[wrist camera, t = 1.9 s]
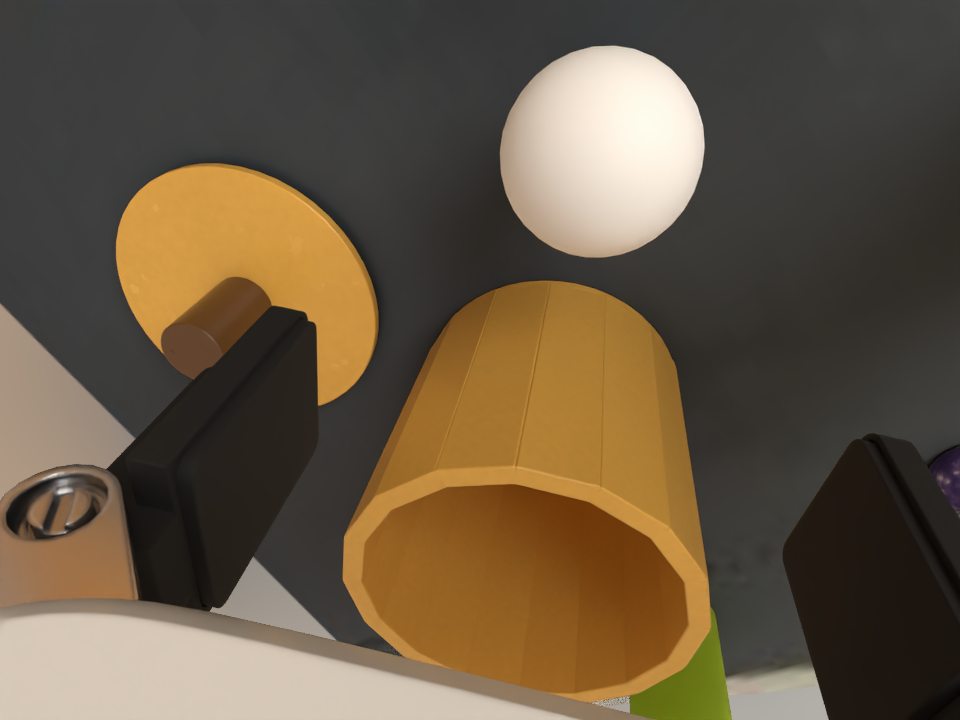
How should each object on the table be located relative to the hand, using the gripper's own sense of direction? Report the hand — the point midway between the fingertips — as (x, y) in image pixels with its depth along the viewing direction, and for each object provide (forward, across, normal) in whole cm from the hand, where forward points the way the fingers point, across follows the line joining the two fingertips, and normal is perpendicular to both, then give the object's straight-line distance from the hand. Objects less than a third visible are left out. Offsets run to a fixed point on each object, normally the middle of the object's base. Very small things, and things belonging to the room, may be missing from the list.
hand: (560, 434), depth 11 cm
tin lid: (+19, +16, +11) cm, 27 cm away
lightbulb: (+19, 0, -2) cm, 19 cm away
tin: (+19, -1, +13) cm, 23 cm away
